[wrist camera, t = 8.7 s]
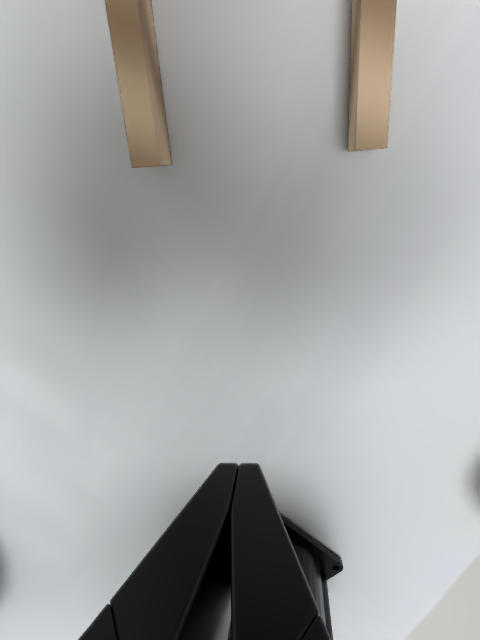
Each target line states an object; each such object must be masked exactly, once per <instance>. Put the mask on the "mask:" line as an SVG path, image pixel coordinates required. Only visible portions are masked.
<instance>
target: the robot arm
mask: <svg viewBox="0 0 480 640" xmlns="http://www.w3.org/2000/svg"><path fill="white" fill-rule="evenodd" d="M342 570H343V564H342V560H341V559H340V558H338V557H337V556H336V555H334V554H333V553H332V552H330V551H329V550H328V549H326V548H325V547H323V546H322V545H321V544H319V543H318V542H317V541H315V540H314V539H313V538H311V537H310V536H309V535H307V534H306V533H304V532H303V531H302V530H300V529H299V528H298V527H296V526H295V525H294V524H292V523H291V522H289V521H288V520H287V519H285V518H284V517H283V516H281V515H280V514H279V511H278V509H277V507H276V504H275V502H274V499H273V497H272V494H271V492H270V490H269V487H268V485H267V482H266V480H265V477H264V475H263V472H262V470H261V468H260V466H259V464H257V463H241V464H240V465H238V464H237V463H220V464H218V465H217V467H216V468H215V469H214V470H213V472H212V473H211V474H210V475H209V477H208V478H207V479H206V480H205V482H204V483H203V484H202V485H201V487H200V488H199V489H198V491H197V492H196V493H195V494H194V496H193V497H192V498H191V499H190V501H189V502H188V503H187V504H186V506H185V507H184V508H183V509H182V511H181V512H180V513H179V514H178V516H177V517H176V518H175V519H174V521H173V522H172V523H171V525H170V526H169V527H168V528H167V530H166V531H165V532H164V533H163V535H162V536H161V537H160V538H159V540H158V541H157V542H156V543H155V545H154V546H153V547H152V548H151V550H150V551H149V552H148V553H147V555H146V556H145V557H144V558H143V560H142V561H141V562H140V564H139V565H138V566H137V567H136V569H135V570H134V571H133V572H132V574H131V575H130V576H129V577H128V579H127V580H126V581H125V582H124V584H123V585H122V586H121V587H120V589H119V590H118V591H117V592H116V594H115V595H114V596H113V597H112V599H111V600H110V603H111V605H110V604H107V605H106V606H105V607H104V608H103V610H102V611H101V612H100V614H99V615H98V616H97V617H96V619H95V620H94V621H93V622H92V624H91V625H90V626H89V627H88V628H87V630H86V631H85V632H84V633H83V634H82V636H81V637H80V638H79V639H78V640H333V635H332V626H331V616H330V607H329V598H328V589H327V580H328V579H329V578H331V577H333V576H334V575H336V574H338V573H339V572H341V571H342Z"/></svg>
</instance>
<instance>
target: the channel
mask: <svg viewBox="0 0 480 640" xmlns="http://www.w3.org/2000/svg"><path fill="white" fill-rule="evenodd" d="M396 2H397V0H352V26H351V60H350V95H349V130H348V151H357V150H370V149H383V148H387V144H388V128H389V113H390V97H391V81H392V65H393V49H394V34H395V18H396ZM105 5H106V11H107V17H108V24H109V30H110V36H111V42H112V48H113V54H114V60H115V66H116V72H117V79H118V85H119V91H120V97H121V103H122V109H123V115H124V121H125V127H126V134H127V140H128V146H129V152H130V158H131V164H132V168H137V167H150V166H163V165H172V163H171V155H170V147H169V139H168V132H167V124H166V116H165V108H164V100H163V92H162V85H161V77H160V69H159V61H158V53H157V45H156V38H155V30H154V22H153V14H152V6H151V0H105Z"/></svg>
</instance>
